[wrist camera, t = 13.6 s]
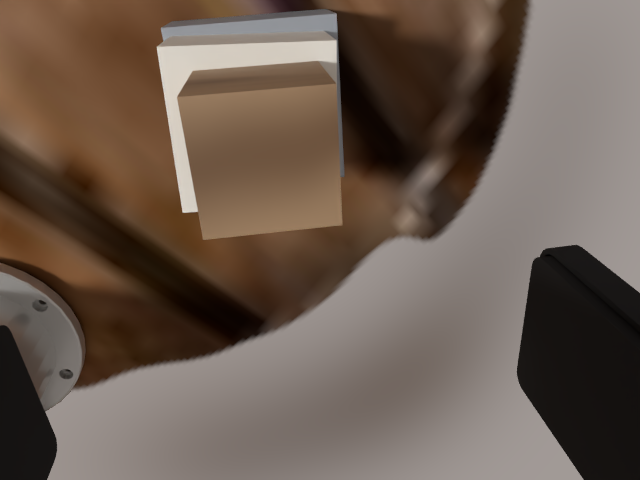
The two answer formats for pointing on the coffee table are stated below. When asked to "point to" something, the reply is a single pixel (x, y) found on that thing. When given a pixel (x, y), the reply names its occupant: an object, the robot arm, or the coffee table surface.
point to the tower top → (229, 52)
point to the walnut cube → (263, 148)
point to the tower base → (267, 24)
